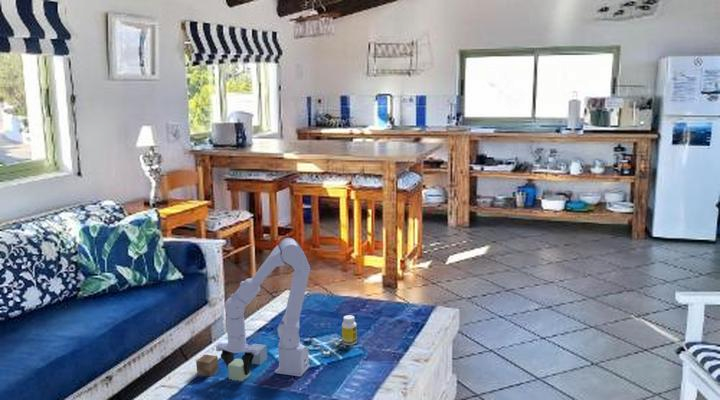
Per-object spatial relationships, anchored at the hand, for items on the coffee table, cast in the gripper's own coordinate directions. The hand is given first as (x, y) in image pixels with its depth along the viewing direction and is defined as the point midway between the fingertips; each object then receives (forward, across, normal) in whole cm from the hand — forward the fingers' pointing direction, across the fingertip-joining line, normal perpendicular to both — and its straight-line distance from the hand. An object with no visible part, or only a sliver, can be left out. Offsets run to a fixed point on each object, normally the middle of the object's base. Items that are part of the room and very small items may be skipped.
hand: (239, 372), depth 202 cm
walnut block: (+2, +12, -1) cm, 12 cm away
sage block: (+1, 0, 0) cm, 1 cm away
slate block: (+2, -1, -12) cm, 12 cm away
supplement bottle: (+2, -28, -33) cm, 43 cm away
